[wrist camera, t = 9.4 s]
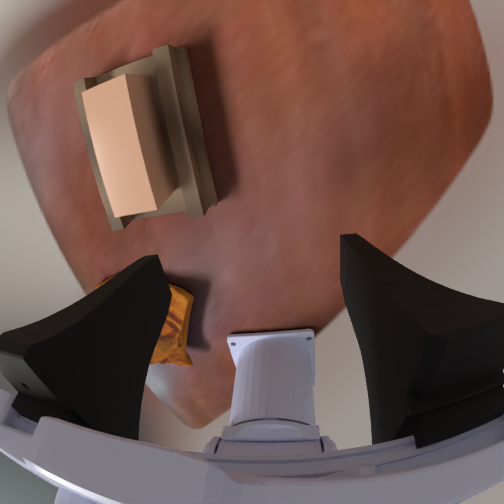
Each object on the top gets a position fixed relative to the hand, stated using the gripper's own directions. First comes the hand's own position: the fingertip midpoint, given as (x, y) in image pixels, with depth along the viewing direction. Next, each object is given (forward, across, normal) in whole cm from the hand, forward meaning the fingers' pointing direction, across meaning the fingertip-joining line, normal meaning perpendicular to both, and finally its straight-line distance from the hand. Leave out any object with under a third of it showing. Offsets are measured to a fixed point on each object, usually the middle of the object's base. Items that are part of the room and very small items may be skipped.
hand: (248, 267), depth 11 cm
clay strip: (+9, +7, -5) cm, 12 cm away
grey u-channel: (+9, +7, -5) cm, 13 cm away
